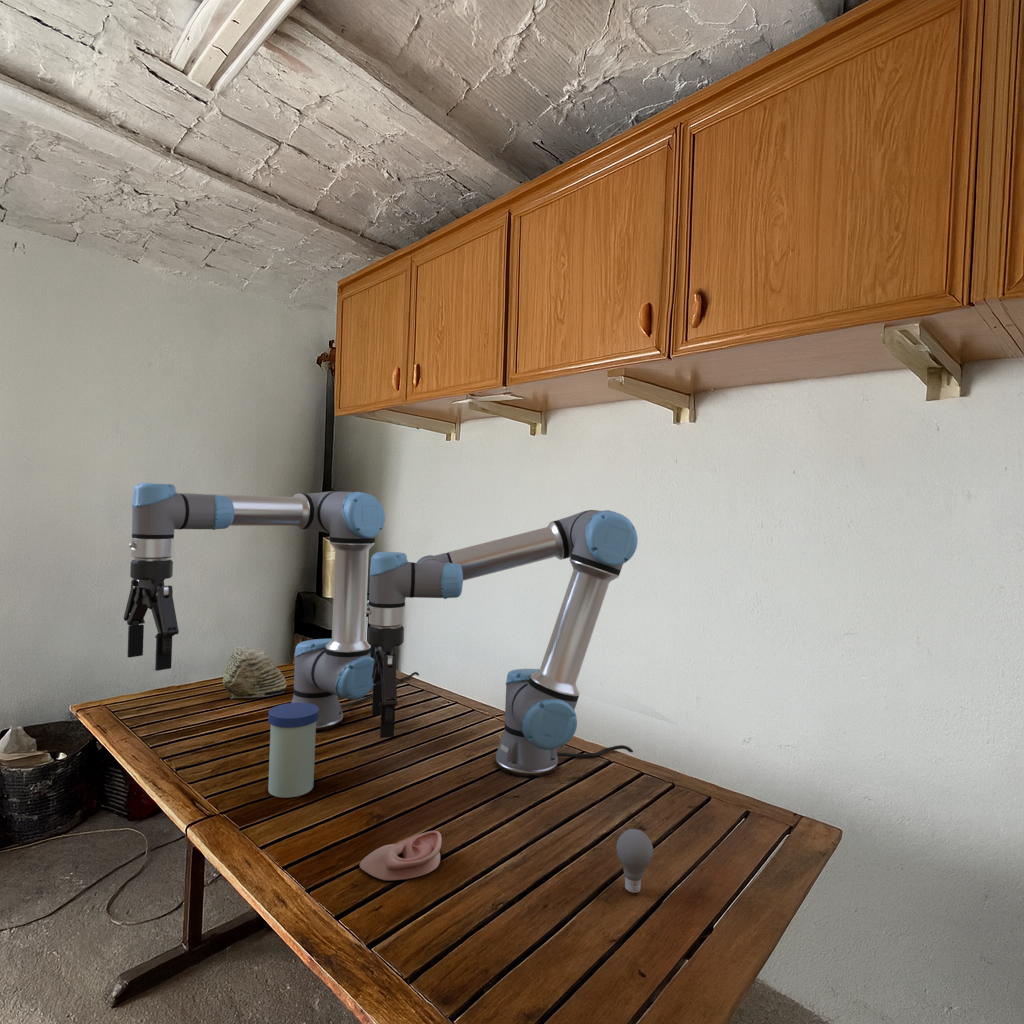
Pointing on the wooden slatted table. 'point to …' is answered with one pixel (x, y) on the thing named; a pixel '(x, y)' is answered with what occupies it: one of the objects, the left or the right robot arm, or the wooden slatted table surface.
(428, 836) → the anatomical model
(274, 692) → the fossil
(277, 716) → the lid
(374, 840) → the wooden slatted table surface
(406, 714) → the wooden slatted table surface
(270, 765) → the jar
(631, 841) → the light bulb
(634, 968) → the wooden slatted table surface
